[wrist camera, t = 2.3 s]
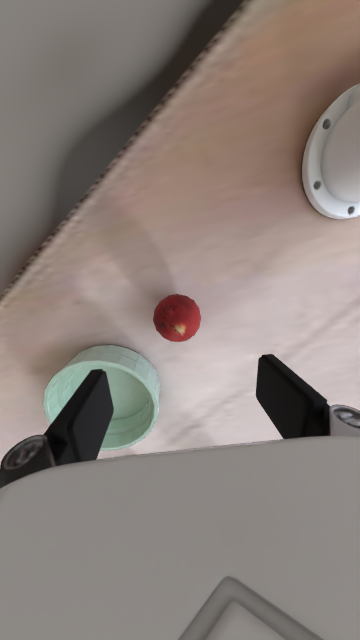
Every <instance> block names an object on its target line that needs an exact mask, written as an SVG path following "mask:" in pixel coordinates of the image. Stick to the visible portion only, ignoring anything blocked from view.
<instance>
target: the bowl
mask: <svg viewBox="0 0 360 640" xmlns="http://www.w3.org/2000/svg"><path fill="white" fill-rule="evenodd" d="M94 369H103V371H106V373H107V378H108V383H109V387H110V392H111V397H112V402H113V407H114V412H113V416H112V418H111V421H110V424H109V427H108V429H107V432H106V435H105V437H104V440H103V443H102V445H101V448H100V451H110V450H120V449H123V448H126V447H129V446H132V445H134V444H136V443H137V442H139V441H141V440H142V439H144V438H145V437H146V436H147V435H148V434H149V432H150V431H151V430H152V429H153V427H154V425H155V423H156V420H157V418H158V408H159V397H160V382H159V379H158V375H157V373H156V371H155V370H154V368H153V367H152V365H151V364H150V363H149V362H148V361H147V360H146V359H145V358H143V357H142V356H141V355H140V354H138V353H136V352H134V351H132V350H130V349H127V348H125V347H119V346H114V345H104V346H94V347H92V348H89V349H86V350H83V351H81V352H80V353H79V354H77V355H76V356H75V357H73V358H72V359H71V360H70V361H69V362H68V363H67V364H66V365H65V366H64V367H62V368H61V369H60V370H59V371H58V372H57V373H56V374H55V375H54V376H53V377H52V379H51V380H50V382H49V383H48V385H47V386H46V388H45V392H44V397H43V407H44V412H45V416H46V418H47V419H48V421H49V423H50V425H51V424H52V422H53V421H54V420H55V418H56V417H57V415H58V414H59V413H60V411H61V410H62V409H63V407H64V406H65V405H66V403H67V402H68V401H69V399H70V398H71V397H72V395H73V394H74V392H75V391H76V390H77V388H78V387H79V386H80V384H81V383H82V382H83V380H84V379H85V378H86V376H87V375H88V374H89V372H90V371H91V370H94Z"/></svg>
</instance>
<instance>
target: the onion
mask: <svg viewBox="0 0 360 640" xmlns="http://www.w3.org/2000/svg"><path fill="white" fill-rule="evenodd" d="M153 321H154V324H155V327H156V330H157V331H158V332H159V333H160V334H161V335H162V336H163V337H164V338H165V339H167V340H170V341H174V342H181V341H186V340H188V339H190V338H191V337H192V336H194V335H195V333H196V332H197V330H198V329H199V326H200V321H201V316H200V311H199V308H198V306H197V305H196V303H195V302H194V300H192V299H190V298H189V297H187V296H183V295H178V294H176V295H171V296H168V297H166V298H165V299H163V300H161V301H160V302H159V304H158V305H157V307H156V308H155V311H154V318H153Z"/></svg>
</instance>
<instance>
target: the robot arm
mask: <svg viewBox="0 0 360 640" xmlns="http://www.w3.org/2000/svg"><path fill="white" fill-rule="evenodd" d="M302 180H303V185H304V190H305V192H306V195H307V197H308V200H309V201H310V203H311V204H312V205H313V207H314V208H315V209H316V210H317V211H319V212H320V213H321V214H323V215H325V216H327V217H330V218H334V219H348V218H353V217H357V216H360V83H359V84H357V85H355V86H353V87H351V88H350V89H348V90H347V91H346V92H344V93H343V94H341V95H340V96H339V97H338V98H337V99H336V100H335V101H334V102H333V103H332V104H331V105H330V106H329V107H328V108H327V109H326V111H325V112H324V113H323V114H322V115H321V117H320V118H319V120H318V121H317V123H316V125H315V126H314V128H313V130H312V132H311V134H310V136H309V139H308V141H307V144H306V148H305V151H304V155H303V163H302ZM256 397H257V400H258V401H259V403H260V404H261V406H262V407H263V409H264V410H265V412H266V413H267V415H268V416H269V418H270V419H271V421H272V422H273V424H274V425H275V427H276V428H277V430H278V431H279V433H280V434H281V436H282V437H283V439H280V440H271V441H261V442H251V443H241V444H231V445H222V446H213V447H203V448H194V449H185V450H176V451H167V452H158V453H149V454H141V455H132V456H123V457H115V458H107V459H99V460H96V459H97V456H98V454H99V451H100V448H101V445H102V443H103V440H104V437H105V435H106V432H107V429H108V427H109V424H110V421H111V418H112V416H113V412H114V407H113V402H112V397H111V392H110V387H109V383H108V378H107V373H106V371H103V369H94V370H91V371H90V372H89V374H88V375H87V376H86V378H85V379H84V380H83V382H82V383H81V384H80V386H79V387H78V388H77V390H76V391H75V392H74V394H73V395H72V397H71V398H70V399H69V401H68V402H67V403H66V405H65V406H64V407H63V409H62V410H61V411H60V413H59V414H58V415H57V417H56V418H55V420H54V421H53V422H52V424H51V425H50V426H49V428H48V429H47V431H46V432H45V433H44V435H35V436H31V437H29V438H26V439H24V440H23V441H21V442H19V443H18V444H16V445H15V446H14V447H13V448H11V449H10V450H9V451H8V453H7V454H6V455H5V456H4V458H3V459H2V461H1V465H0V640H360V411H359V410H357V409H355V408H352V407H349V406H345V405H333V406H331V407H330V406H329V405H328V404H327V400H326V399H325V398H324V397H323V396H321V395H320V394H319V393H318V392H317V391H316V390H314V389H313V388H312V387H311V386H310V385H308V384H307V383H306V382H305V381H304V380H303V379H301V378H300V377H299V376H298V375H297V374H295V373H294V372H293V371H292V370H291V369H289V368H288V367H287V366H286V365H285V364H284V363H282V362H281V361H280V360H279V359H278V358H276V357H275V356H274V355H273V354H268V355H262V356H261V357H260V358H259V362H258V374H257V387H256Z"/></svg>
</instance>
